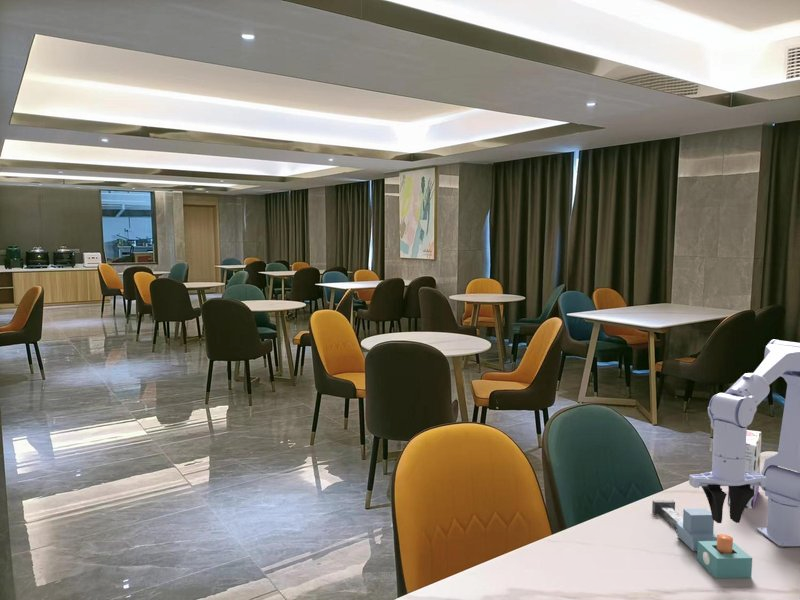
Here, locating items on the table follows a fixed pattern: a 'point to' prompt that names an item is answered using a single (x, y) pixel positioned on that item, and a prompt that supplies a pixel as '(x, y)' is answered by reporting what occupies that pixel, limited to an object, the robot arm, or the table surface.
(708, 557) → the teal button housing
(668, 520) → the rail
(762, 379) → the robot arm
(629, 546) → the table surface
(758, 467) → the candy box
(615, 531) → the table surface
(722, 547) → the plunger
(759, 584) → the table surface
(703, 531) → the carriage
